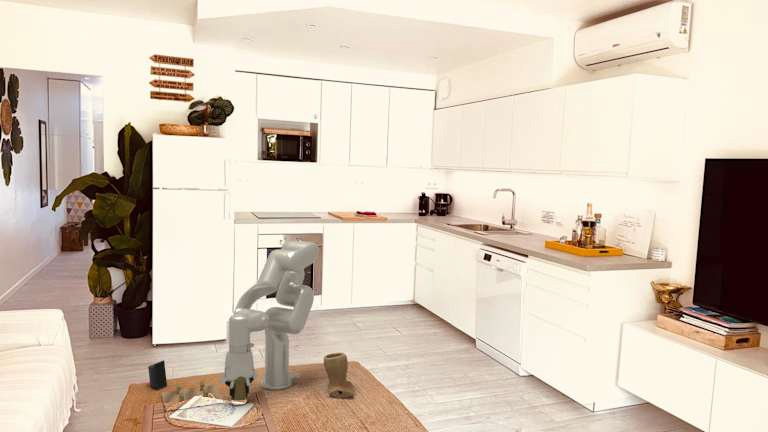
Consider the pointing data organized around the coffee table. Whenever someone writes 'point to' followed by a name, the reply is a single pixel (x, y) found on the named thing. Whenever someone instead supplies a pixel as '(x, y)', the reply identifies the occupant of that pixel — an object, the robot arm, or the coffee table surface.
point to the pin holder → (190, 393)
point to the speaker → (157, 375)
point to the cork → (240, 389)
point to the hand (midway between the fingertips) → (239, 396)
